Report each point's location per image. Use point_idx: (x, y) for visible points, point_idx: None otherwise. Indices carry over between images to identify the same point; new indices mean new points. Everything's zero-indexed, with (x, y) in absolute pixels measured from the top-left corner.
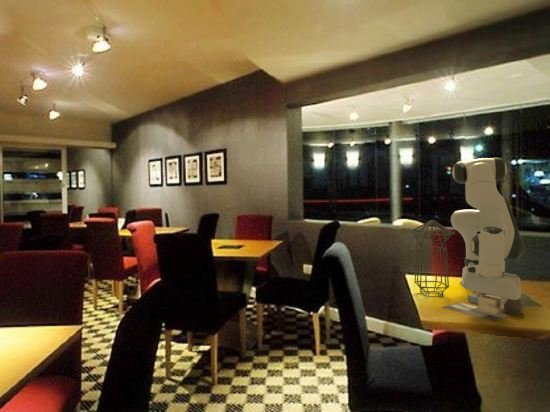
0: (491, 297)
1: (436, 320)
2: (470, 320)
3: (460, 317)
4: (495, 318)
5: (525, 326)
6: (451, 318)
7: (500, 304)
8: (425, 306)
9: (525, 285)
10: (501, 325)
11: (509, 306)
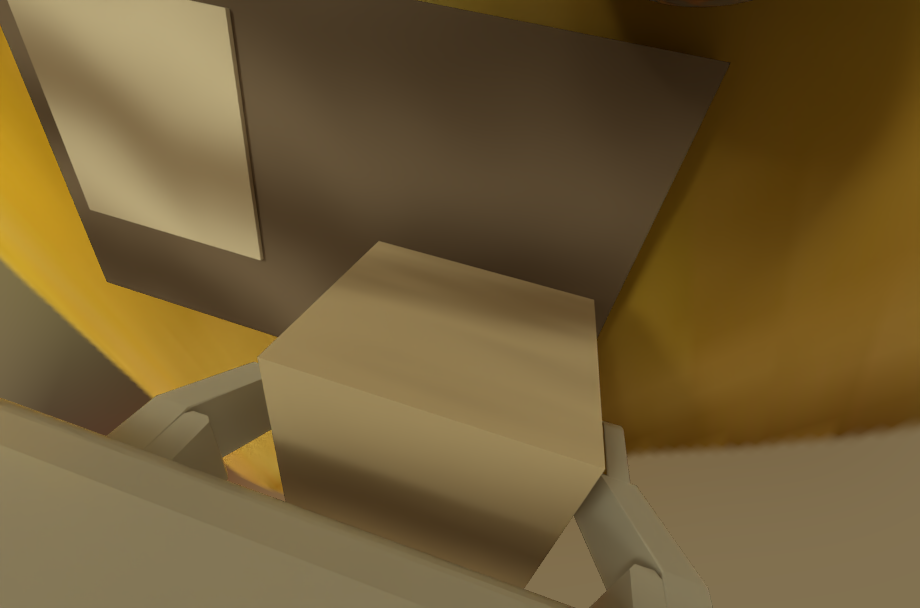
0: (412, 499)
1: (279, 472)
2: None
3: None
4: None
5: (847, 346)
6: None
7: (583, 516)
8: (31, 260)
9: None
10: (604, 413)
11: (700, 2)
